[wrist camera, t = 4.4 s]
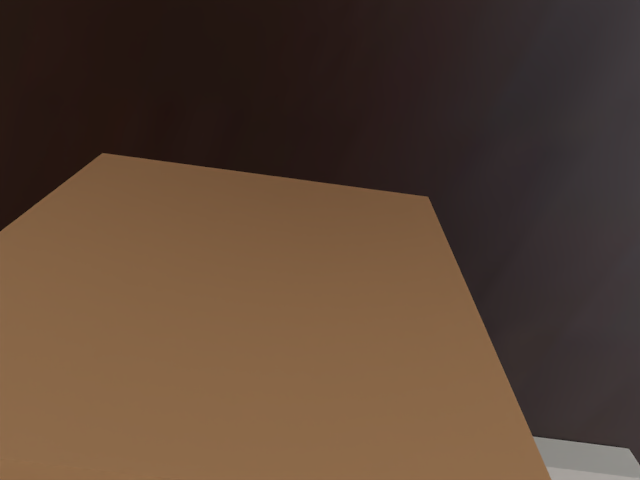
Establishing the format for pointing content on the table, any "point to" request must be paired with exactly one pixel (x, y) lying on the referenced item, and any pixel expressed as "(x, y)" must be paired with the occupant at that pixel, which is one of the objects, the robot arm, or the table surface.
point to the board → (586, 461)
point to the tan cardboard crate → (244, 335)
